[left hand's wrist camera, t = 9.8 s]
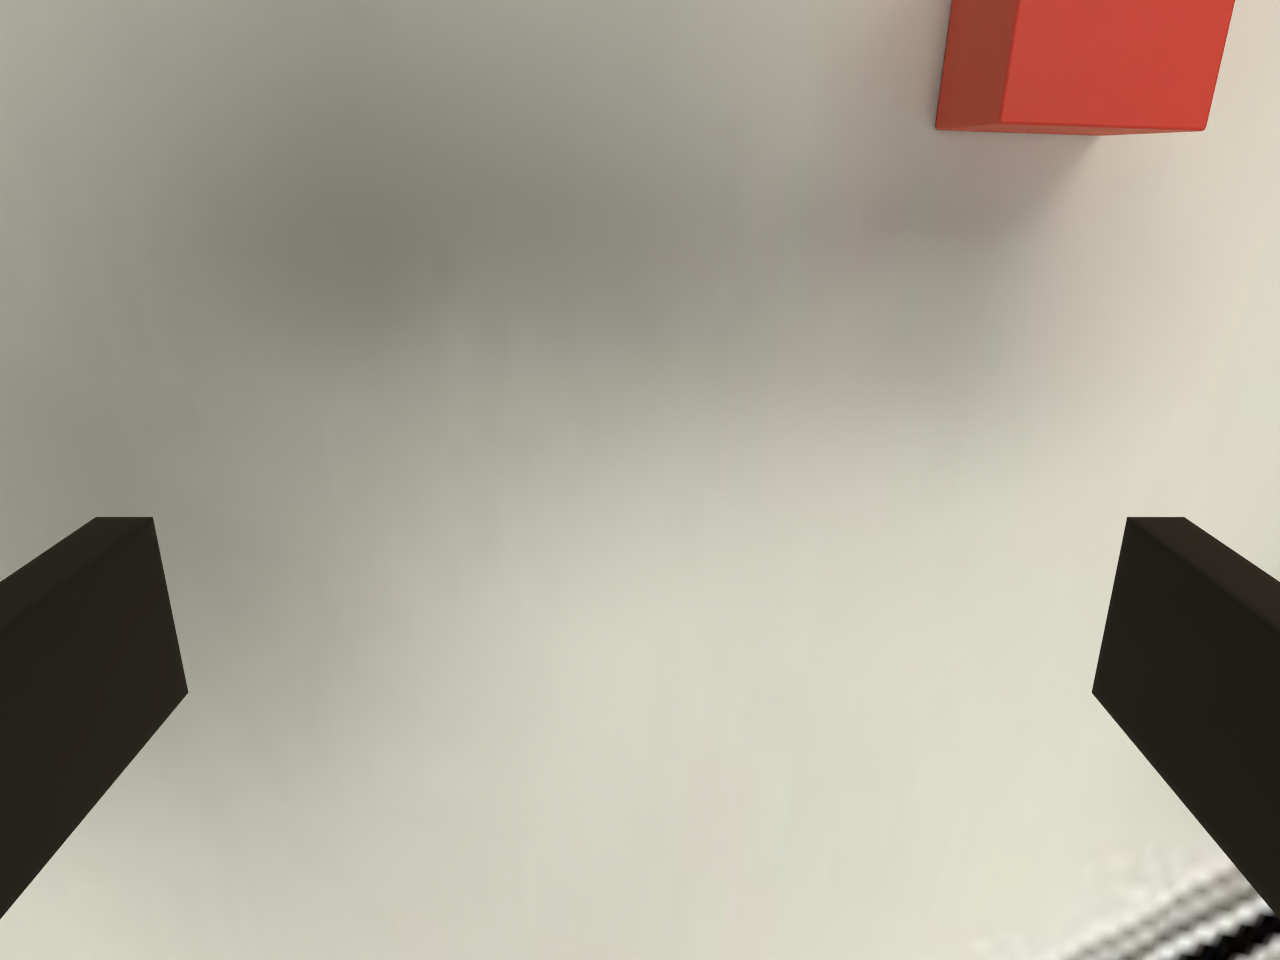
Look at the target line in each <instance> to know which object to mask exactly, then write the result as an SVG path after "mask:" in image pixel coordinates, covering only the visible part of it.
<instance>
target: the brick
mask: <svg viewBox="0 0 1280 960" xmlns="http://www.w3.org/2000/svg"><path fill="white" fill-rule="evenodd" d="M1234 3H1235V0H952V7H951V15H950V22H949V30H948V37H947V45H946V52H945V60H944V67H943V75H942V82H941V90H940V97H939V105H938V112H937V120H936V129H937V130H951V131H981V132H1010V133H1040V134H1070V135H1123V134H1146V133H1169V132H1191V131H1203V130H1205V128H1206V125H1207V121H1208V116H1209V112H1210V107H1211V103H1212V99H1213V94H1214V90H1215V86H1216V81H1217V77H1218V72H1219V68H1220V64H1221V59H1222V55H1223V51H1224V46H1225V42H1226V38H1227V33H1228V29H1229V24H1230V20H1231V16H1232V11H1233V7H1234Z"/></svg>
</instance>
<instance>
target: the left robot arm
mask: <svg viewBox="0 0 1280 960" xmlns="http://www.w3.org/2000/svg"><path fill="white" fill-rule="evenodd" d="M187 693H188V689H187V684H186V679H185V674H184V669H183V664H182V659H181V654H180V650H179V645H178V640H177V635H176V630H175V625H174V620H173V615H172V610H171V605H170V600H169V595H168V590H167V585H166V580H165V575H164V570H163V565H162V561H161V556H160V551H159V546H158V541H157V536H156V531H155V526H154V521H153V517H95V518H94V519H92V520H91V521H90V522H88V523H87V524H85V525H84V526H82V527H81V528H79V529H78V530H76V531H75V532H73V533H72V534H70V535H69V536H67V537H66V538H64V539H63V540H62V541H60V542H59V543H57V544H56V545H54V546H53V547H51V548H50V549H48V550H47V551H45V552H44V553H42V554H41V555H39V556H38V557H36V558H35V559H34V560H32V561H31V562H29V563H28V564H26V565H25V566H23V567H22V568H20V569H19V570H17V571H16V572H14V573H13V574H11V575H10V576H8V577H7V578H6V579H4V580H3V581H1V582H0V919H1V918H2V916H3V915H4V914H5V913H6V912H7V910H8V909H9V908H10V907H11V906H12V904H13V903H14V902H15V901H16V900H17V898H18V897H19V896H20V895H21V894H22V892H23V891H24V890H25V889H26V888H27V886H28V885H29V884H30V883H31V882H32V880H33V879H34V878H35V877H36V875H37V874H38V873H39V872H40V871H41V869H42V868H43V867H44V866H45V865H46V863H47V862H48V861H49V860H50V859H51V857H52V856H53V855H54V854H55V853H56V851H57V850H58V849H59V848H60V847H61V845H62V844H63V843H64V842H65V841H66V839H67V838H68V837H69V836H70V834H71V833H72V832H73V831H74V830H75V828H76V827H77V826H78V825H79V824H80V822H81V821H82V820H83V819H84V818H85V816H86V815H87V814H88V813H89V812H90V810H91V809H92V808H93V807H94V806H95V804H96V803H97V802H98V801H99V800H100V798H101V797H102V796H103V795H104V794H105V792H106V791H107V790H108V789H109V787H110V786H111V785H112V784H113V783H114V781H115V780H116V779H117V778H118V777H119V775H120V774H121V773H122V772H123V771H124V769H125V768H126V767H127V766H128V765H129V763H130V762H131V761H132V760H133V759H134V757H135V756H136V755H137V754H138V753H139V751H140V750H141V749H142V748H143V746H144V745H145V744H146V743H147V742H148V740H149V739H150V738H151V737H152V736H153V734H154V733H155V732H156V731H157V730H158V728H159V727H160V726H161V725H162V724H163V722H164V721H165V720H166V719H167V718H168V716H169V715H170V714H171V713H172V712H173V710H174V709H175V708H176V707H177V705H178V704H179V703H180V702H181V701H182V699H183V698H184V697H185V696H186V695H187ZM1092 693H1093V695H1094V696H1095V697H1096V698H1097V699H1098V701H1099V702H1100V703H1101V704H1102V706H1103V707H1104V708H1105V709H1106V710H1107V712H1108V713H1109V714H1110V715H1111V716H1112V718H1113V719H1114V720H1115V721H1116V722H1117V724H1118V725H1119V726H1120V727H1121V728H1122V730H1123V731H1124V732H1125V733H1126V734H1127V736H1128V737H1129V738H1130V739H1131V740H1132V742H1133V743H1134V744H1135V745H1136V746H1137V748H1138V749H1139V750H1140V751H1141V753H1142V754H1143V755H1144V756H1145V757H1146V759H1147V760H1148V761H1149V762H1150V763H1151V765H1152V766H1153V767H1154V768H1155V769H1156V771H1157V772H1158V773H1159V774H1160V775H1161V777H1162V778H1163V779H1164V780H1165V781H1166V783H1167V784H1168V785H1169V786H1170V787H1171V789H1172V790H1173V791H1174V792H1175V794H1176V795H1177V796H1178V797H1179V798H1180V800H1181V801H1182V802H1183V803H1184V804H1185V806H1186V807H1187V808H1188V809H1189V810H1190V812H1191V813H1192V814H1193V815H1194V816H1195V818H1196V819H1197V820H1198V821H1199V822H1200V824H1201V825H1202V826H1203V827H1204V828H1205V830H1206V831H1207V832H1208V833H1209V834H1210V836H1211V837H1212V838H1213V839H1214V841H1215V842H1216V843H1217V844H1218V845H1219V847H1220V848H1221V849H1222V850H1223V851H1224V853H1225V854H1226V855H1227V856H1228V857H1229V859H1230V860H1231V861H1232V862H1233V863H1234V865H1235V866H1236V867H1237V868H1238V869H1239V871H1240V872H1241V873H1242V874H1243V875H1244V877H1245V878H1246V879H1247V880H1248V882H1249V883H1250V884H1251V885H1252V886H1253V888H1254V889H1255V890H1256V891H1257V892H1258V894H1259V895H1260V896H1261V897H1262V898H1263V900H1264V901H1265V902H1266V903H1267V904H1268V906H1269V907H1270V908H1271V909H1272V910H1273V912H1274V913H1275V914H1276V915H1277V916H1278V918H1279V919H1280V582H1279V581H1277V580H1276V579H1274V578H1273V577H1272V576H1270V575H1269V574H1267V573H1266V572H1264V571H1263V570H1261V569H1260V568H1258V567H1257V566H1255V565H1254V564H1252V563H1251V562H1249V561H1248V560H1246V559H1245V558H1244V557H1242V556H1241V555H1239V554H1238V553H1236V552H1235V551H1233V550H1232V549H1230V548H1229V547H1227V546H1226V545H1224V544H1223V543H1221V542H1220V541H1218V540H1217V539H1216V538H1214V537H1213V536H1211V535H1210V534H1208V533H1207V532H1205V531H1204V530H1202V529H1201V528H1199V527H1198V526H1196V525H1195V524H1193V523H1192V522H1190V521H1189V520H1188V519H1186V518H1185V517H1127V521H1126V526H1125V531H1124V536H1123V541H1122V546H1121V551H1120V556H1119V561H1118V565H1117V570H1116V575H1115V580H1114V585H1113V590H1112V595H1111V600H1110V605H1109V610H1108V615H1107V620H1106V625H1105V630H1104V635H1103V640H1102V645H1101V650H1100V654H1099V659H1098V664H1097V669H1096V674H1095V679H1094V684H1093V689H1092Z"/></svg>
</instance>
